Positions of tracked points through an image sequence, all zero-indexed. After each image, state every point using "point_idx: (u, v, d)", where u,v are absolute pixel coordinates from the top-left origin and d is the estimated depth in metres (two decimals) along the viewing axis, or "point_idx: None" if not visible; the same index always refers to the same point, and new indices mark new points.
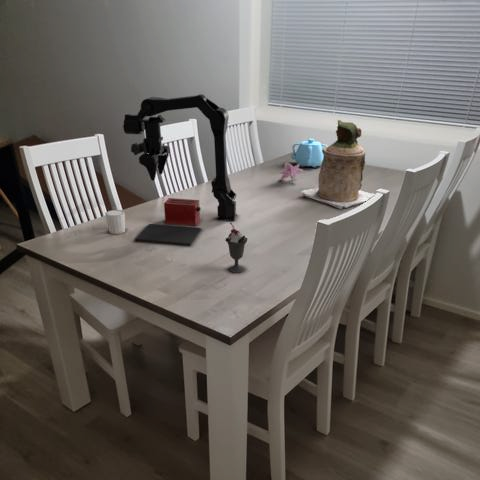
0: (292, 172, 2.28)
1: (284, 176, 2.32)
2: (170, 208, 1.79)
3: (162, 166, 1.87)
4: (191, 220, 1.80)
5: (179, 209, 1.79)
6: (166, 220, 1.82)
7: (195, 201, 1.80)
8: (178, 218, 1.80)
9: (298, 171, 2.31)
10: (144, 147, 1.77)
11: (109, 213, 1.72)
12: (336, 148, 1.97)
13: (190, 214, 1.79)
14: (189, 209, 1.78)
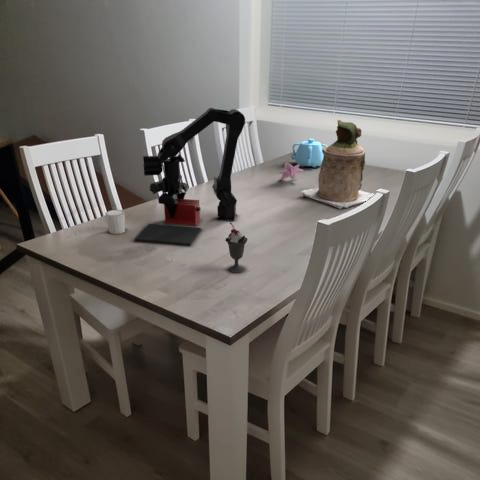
0: (292, 172, 2.28)
1: (284, 176, 2.32)
2: None
3: None
4: (191, 220, 1.80)
5: (179, 209, 1.79)
6: (166, 220, 1.82)
7: (195, 201, 1.80)
8: (178, 218, 1.80)
9: (298, 171, 2.31)
10: (163, 186, 1.75)
11: (109, 213, 1.72)
12: (336, 148, 1.97)
13: (190, 214, 1.79)
14: (189, 209, 1.78)
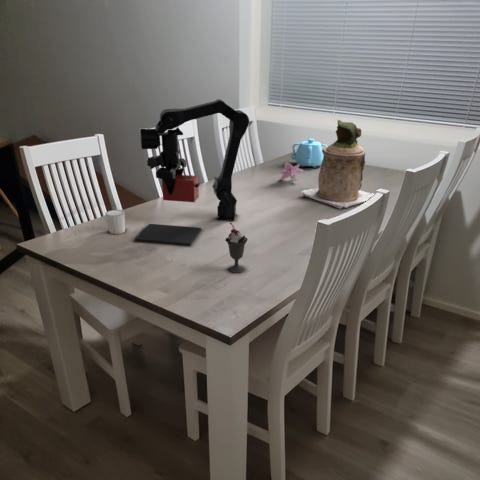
0: (292, 172, 2.28)
1: (284, 176, 2.32)
2: None
3: None
4: (190, 196, 1.75)
5: (177, 185, 1.74)
6: (164, 196, 1.77)
7: (194, 177, 1.76)
8: (177, 194, 1.76)
9: (298, 171, 2.31)
10: (161, 161, 1.70)
11: (109, 213, 1.72)
12: (336, 148, 1.97)
13: (189, 189, 1.74)
14: (188, 185, 1.73)
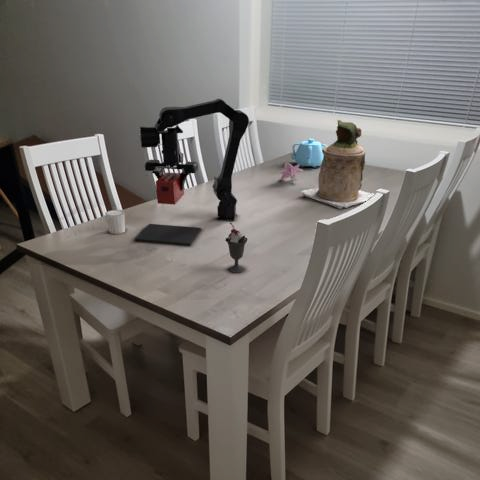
0: (292, 172, 2.28)
1: (284, 176, 2.32)
2: None
3: None
4: None
5: None
6: None
7: (168, 181, 1.68)
8: None
9: (298, 171, 2.31)
10: None
11: (109, 213, 1.72)
12: (336, 148, 1.97)
13: None
14: None
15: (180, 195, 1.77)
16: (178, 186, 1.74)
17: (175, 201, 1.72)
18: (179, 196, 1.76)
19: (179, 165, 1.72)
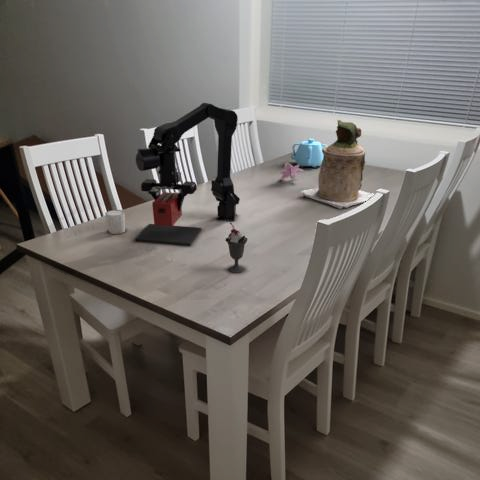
0: (292, 172, 2.28)
1: (284, 176, 2.32)
2: None
3: None
4: None
5: None
6: None
7: (165, 202, 1.61)
8: None
9: (298, 171, 2.31)
10: None
11: (109, 213, 1.72)
12: (336, 148, 1.97)
13: None
14: None
15: (178, 216, 1.70)
16: (176, 207, 1.67)
17: (172, 223, 1.65)
18: (177, 217, 1.69)
19: (177, 185, 1.65)
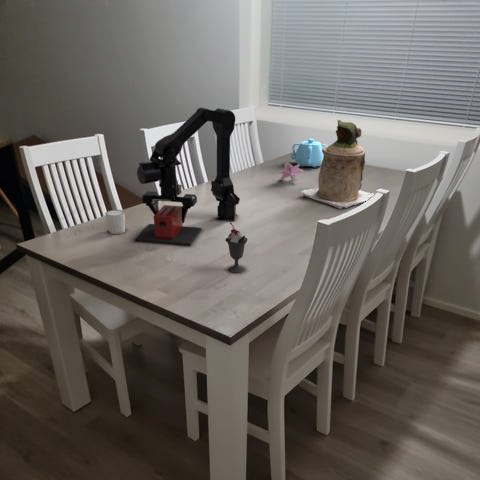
0: (292, 172, 2.28)
1: (284, 176, 2.32)
2: None
3: None
4: None
5: None
6: None
7: (166, 216, 1.64)
8: None
9: (298, 171, 2.31)
10: None
11: (109, 213, 1.72)
12: (336, 148, 1.97)
13: None
14: None
15: (178, 228, 1.72)
16: (177, 220, 1.69)
17: (173, 236, 1.67)
18: (177, 230, 1.71)
19: (177, 198, 1.68)
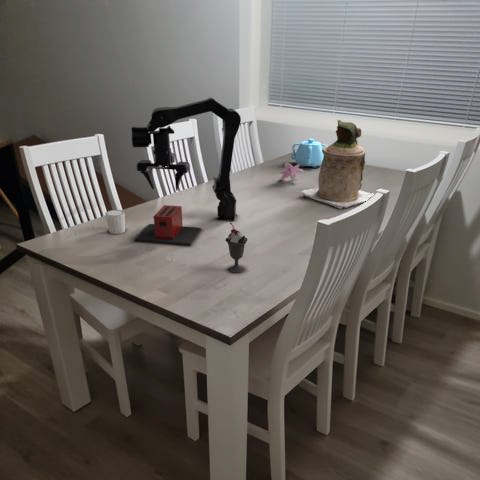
0: (292, 172, 2.28)
1: (284, 176, 2.32)
2: None
3: None
4: None
5: None
6: None
7: (166, 216, 1.64)
8: None
9: (298, 171, 2.31)
10: None
11: (109, 213, 1.72)
12: (336, 148, 1.97)
13: None
14: None
15: (178, 228, 1.72)
16: (177, 220, 1.69)
17: (173, 236, 1.67)
18: (177, 230, 1.71)
19: (171, 165, 1.73)
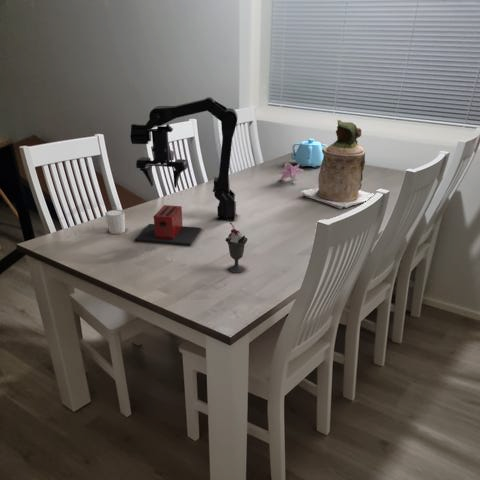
0: (292, 172, 2.28)
1: (284, 176, 2.32)
2: None
3: None
4: None
5: None
6: None
7: (166, 216, 1.64)
8: None
9: (298, 171, 2.31)
10: None
11: (109, 213, 1.72)
12: (336, 148, 1.97)
13: None
14: None
15: (178, 228, 1.72)
16: (177, 220, 1.69)
17: (173, 236, 1.67)
18: (177, 230, 1.71)
19: (169, 163, 1.77)
